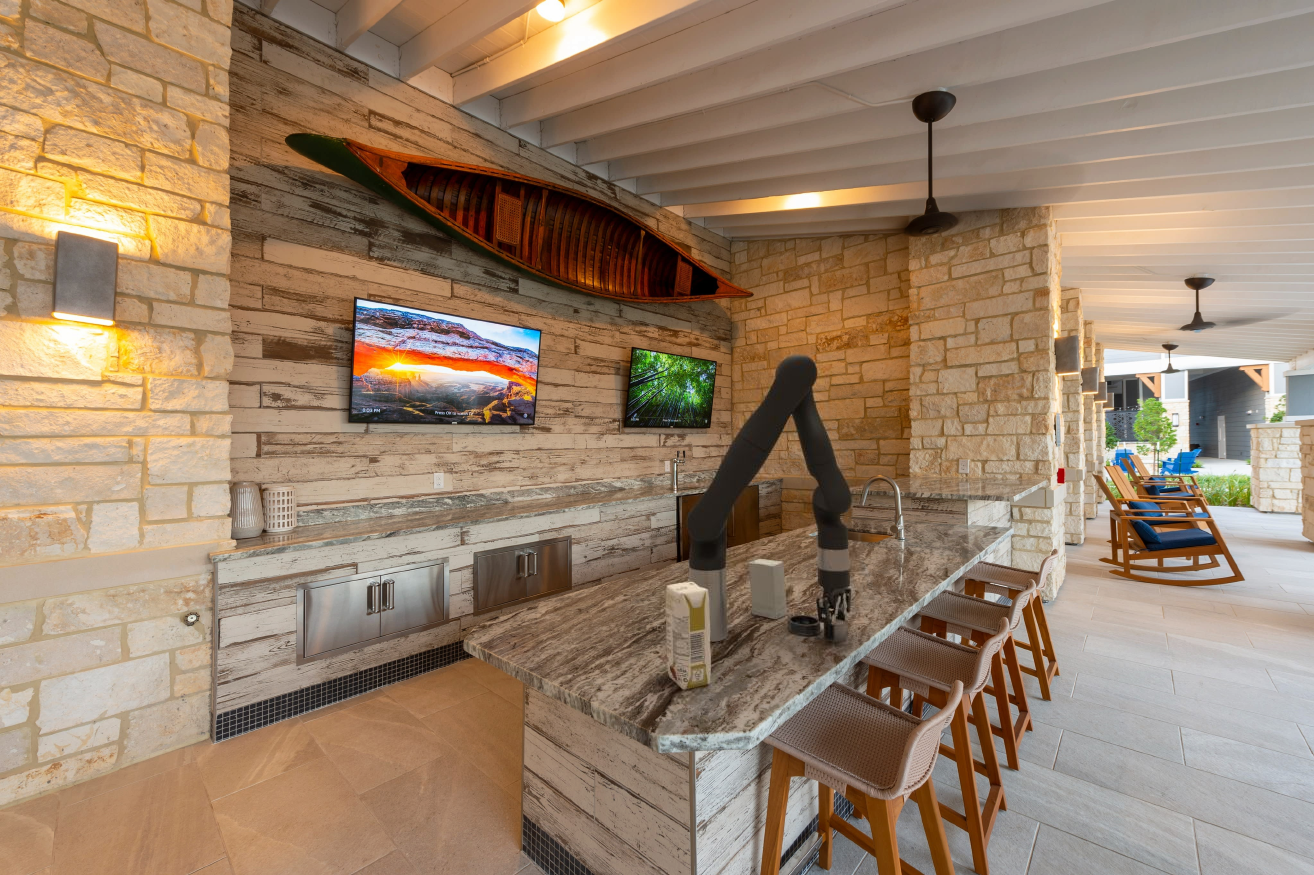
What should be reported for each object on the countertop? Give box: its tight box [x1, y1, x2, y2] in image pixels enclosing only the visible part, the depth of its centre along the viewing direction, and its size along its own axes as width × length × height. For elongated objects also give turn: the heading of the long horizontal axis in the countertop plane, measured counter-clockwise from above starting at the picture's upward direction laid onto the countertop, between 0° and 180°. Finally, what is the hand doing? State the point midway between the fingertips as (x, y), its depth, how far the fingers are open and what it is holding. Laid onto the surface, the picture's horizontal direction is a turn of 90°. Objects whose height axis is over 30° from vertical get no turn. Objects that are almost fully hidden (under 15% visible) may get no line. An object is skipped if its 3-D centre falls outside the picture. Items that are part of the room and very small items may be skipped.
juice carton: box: [665, 581, 712, 690], centre depth 107 cm, size 8×9×19 cm
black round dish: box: [787, 614, 821, 637], centre depth 133 cm, size 8×8×3 cm
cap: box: [823, 618, 847, 644], centre depth 127 cm, size 6×5×4 cm
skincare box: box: [748, 558, 788, 620], centre depth 146 cm, size 8×6×15 cm
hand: (835, 635), depth 127 cm, fingers closed on cap, 5 cm apart
